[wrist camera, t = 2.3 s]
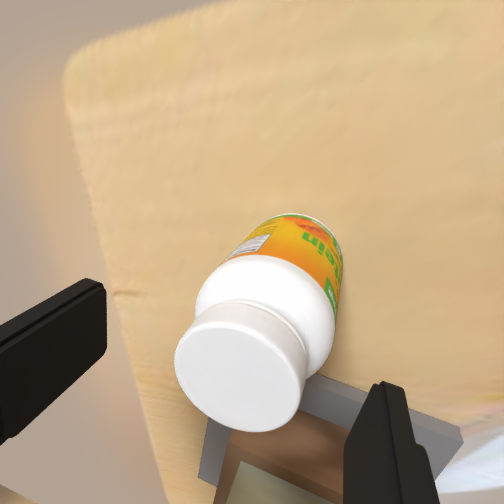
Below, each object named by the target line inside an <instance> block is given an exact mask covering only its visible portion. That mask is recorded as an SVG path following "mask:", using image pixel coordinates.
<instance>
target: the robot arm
mask: <svg viewBox="0 0 504 504" xmlns="http://www.w3.org/2000/svg"><path fill="white" fill-rule="evenodd" d="M106 304H107V303H106V290H105V289H104V286H103V284H102V283H100V282H97V281H94V280H91V279H88V278H85V279H82V280H80V281H78V282H77V283H75V284H73V285H71V286H70V287H68V288H66V289H64V290H63V291H61V292H59V293H57V294H55V295H54V296H52V297H50V298H48V299H46V300H45V301H43V302H41V303H39V304H38V305H36V306H34V307H32V308H31V309H29V310H27V311H25V312H24V313H22V314H20V315H18V316H16V317H14V318H13V319H11V320H9V321H7V322H6V323H4V324H2V325H0V445H2V444H3V443H4V442H5V441H6V440H7V439H8V438H13V437H14V436H16V435H17V434H19V433H20V432H21V431H22V430H23V429H24V428H25V427H26V426H27V425H28V424H30V423H31V422H32V421H33V420H34V419H35V418H36V417H37V416H38V415H39V414H40V413H41V412H43V410H45V409H46V408H47V407H48V406H49V405H50V404H51V403H52V402H53V401H54V400H55V399H57V398H58V397H59V396H60V395H61V394H62V393H63V392H64V391H65V390H66V389H67V388H68V387H70V386H71V385H72V384H73V383H74V382H75V381H76V380H77V379H78V378H79V377H80V376H82V375H83V374H84V373H85V372H86V371H87V370H88V369H89V368H90V367H91V366H92V365H93V364H95V362H97V361H98V360H99V359H100V358H101V357H102V356H103V355H104V353H105V351H106V349H107V308H106V307H107V306H106ZM0 504H37V503H35V502H33V501H31V500H29V499H27V498H26V497H24V496H22V495H20V494H18V493H16V492H14V491H12V490H10V489H8V488H6V487H4V486H2V485H0ZM343 504H440V502H439V498H438V494H437V490H436V486H435V482H434V478H433V474H432V470H431V466H430V462H429V458H428V455H427V452H426V449H425V448H424V447H423V446H422V445H420V444H417V443H416V442H415V437H414V433H413V428H412V424H411V419H410V415H409V410H408V406H407V401H406V397H405V392H404V389H403V388H402V387H399V386H396V385H393V384H390V383H387V382H385V381H382V382H380V384H379V385H378V384H373V385H372V387H371V389H370V391H369V393H368V396H367V398H366V400H365V402H364V404H363V406H362V408H361V410H360V412H359V414H358V416H357V418H356V420H355V422H354V424H353V426H352V428H351V431H350V433H349V435H348V437H347V439H346V441H345V445H344V452H343Z"/></svg>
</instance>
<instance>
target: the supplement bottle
mask: <svg viewBox="0 0 504 504" xmlns="http://www.w3.org/2000/svg"><path fill="white" fill-rule="evenodd" d="M342 267H343V258H342V251H341V248H340V245H339V243H338V241H337V239H336V237H335V235H334V234H333V233H332V231H331V230H330V229H329V228H328V227H327V226H326V225H324V224H323V223H322V222H320V221H319V220H317V219H315V218H313V217H310V216H307V215H304V214H299V213H286V214H281V215H277V216H275V217H272V218H270V219H268V220H266V221H265V222H263V223H262V224H261V225H260V226H259V227H257V228H256V229H255V230H254V231H253V232H252V233H251V234H250V235H249V236H248V237H247V238H246V239H245V240H244V241H243V242H242V243H241V244H240V245H239V246H238V247H237V248H236V249H235V250H234V251H233V252H232V253H231V254H230V255H229V256H228V257H227V258H226V259H225V260H224V262H223V263H222V264H220V265H219V266H218V267H217V268H216V269H215V270H214V271H213V273H212V274H211V275H210V276H209V277H208V279H207V280H206V281H205V283H204V284H203V286H202V288H201V290H200V292H199V294H198V297H197V300H196V305H195V321H194V322H193V324H192V325H191V327H190V328H189V329H188V330H187V332H186V333H185V334H184V336H183V337H182V338H181V340H180V342H179V343H178V346H177V348H176V351H175V358H174V366H175V372H176V376H177V379H178V382H179V384H180V386H181V388H182V389H183V391H184V393H185V394H186V395H187V397H188V398H189V399H190V400H191V402H192V403H193V404H194V405H195V406H196V407H197V408H198V409H199V410H201V411H202V412H203V413H204V414H206V415H207V416H208V417H210V418H212V419H213V420H215V421H216V422H218V423H220V424H222V425H225V426H227V427H230V428H233V429H236V430H241V431H246V432H265V431H271V430H274V429H276V428H279V427H281V426H283V425H284V424H286V423H287V422H288V421H289V420H290V419H291V418H292V417H293V416H294V414H295V413H296V411H297V409H298V407H299V404H300V401H301V397H302V393H303V389H304V385H305V381H306V379H307V378H309V377H310V376H312V375H313V374H314V373H315V372H316V371H318V370H319V369H320V368H321V366H322V365H323V364H324V363H325V361H326V360H327V358H328V356H329V354H330V351H331V348H332V345H333V340H334V334H335V327H336V317H337V308H338V299H339V291H340V283H341V276H342Z"/></svg>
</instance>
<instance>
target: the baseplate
mask: <svg viewBox="0 0 504 504" xmlns="http://www.w3.org/2000/svg"><path fill="white" fill-rule="evenodd" d="M367 396H368V393H367V392H364V391H361V390H359V389H356V388H354V387H351V386H348V385H346V384H343V383H340V382H338V381H335V380H332V379H330V378H327V377H324V376H322V375H319V374H317V373H314V374H313V375H312V376H310V377H309V378H307V379H306V381H305V385H304V389H303V393H302V397H301V401H300V404H299V407H298V409H299V410H302V411H304V412H307V413H309V414H312V415H314V416H317V417H319V418H321V419H324V420H326V421H329V422H331V423H334V424H336V425H339V426H341V427H344V428H346V429H348V430H351V428H352V426H353V424H354V422H355V420H356V418H357V416H358V414H359V412H360V410H361V408H362V406H363V404H364V402H365V400H366V398H367ZM408 410H409V415H410V419H411V424H412V428H413V433H414V437H415V442H416V443H417V444H420V445H422V446H423V447H424V448H425V449H426V452H427V455H428V458H429V462H430V466H431V470H432V474H433V478H434V481H435V480H436V478H437V477H438V476H439V474H440V473H441V472H442V470H443V469H444V468H445V467H446V465H447V464H448V463H449V461H450V460H451V459H452V457H453V456H454V455H455V453H456V452H457V451H458V450H459V448H460V447H461V446H462V444H463V443H464V442H463V439H462V436H461V433H460V430H459V427H457V426H454V425H451V424H449V423H446V422H443V421H441V420H438V419H435V418H433V417H430V416H428V415H425V414H422V413H420V412H417V411H414V410H412V409H409V408H408ZM232 431H233V428H230V427H227V426H225V425H222V424H220V423H218V422H216V421H215V420H213V419H212V418H210V417H209V418H208V424H207V429H206V435H205V440H204V446H203V451H202V457H201V462H200V468H199V473H198V478H200V479H202V480H204V481H206V482H208V483H210V484H212V485H214V486H216V487H217V485H218V481H219V477H220V473H221V468H222V464H223V460H224V456H225V451H226V447H227V443H228V440H229V438H230V435H231V433H232Z"/></svg>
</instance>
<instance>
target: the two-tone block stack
mask: <svg viewBox="0 0 504 504" xmlns="http://www.w3.org/2000/svg"><path fill="white" fill-rule="evenodd" d="M350 431H351V430H348V429H346V428H344V427H341V426H339V425H336V424H334V423H331V422H329V421H326V420H324V419H321V418H319V417H317V416H314V415H312V414H309V413H307V412H304V411H302V410H299V409H297V411H296V413H295V414H294V416H293V417H292V418H291V419H290V420H289V421H288V422H287V423H286V424H284V425H283V426H281V427H279V428H276V429H274V430H271V431H265V432H246V431H241V430H236V429H233V431H232V433H231V435H230V438H229V440H228V443H227V447H226V451H225V456H224V460H223V464H222V468H221V473H220V477H219V481H218V485H217V490H216V494H215V498H214V502H213V504H343V452H344V445H345V441H346V439H347V437H348V435H349V433H350Z"/></svg>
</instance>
